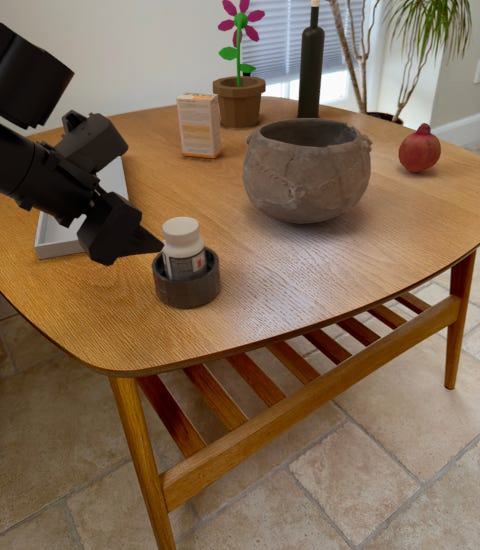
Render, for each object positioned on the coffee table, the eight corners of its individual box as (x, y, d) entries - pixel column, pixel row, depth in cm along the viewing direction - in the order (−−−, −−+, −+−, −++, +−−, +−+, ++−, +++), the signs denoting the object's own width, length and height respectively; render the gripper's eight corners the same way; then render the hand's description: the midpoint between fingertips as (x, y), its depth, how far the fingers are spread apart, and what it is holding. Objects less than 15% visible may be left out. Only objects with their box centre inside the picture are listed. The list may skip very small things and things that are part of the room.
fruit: (390, 175, 89) (400, 127, 83) (398, 161, 95) (408, 115, 89) (432, 182, 86) (445, 132, 80) (438, 167, 92) (450, 120, 86)
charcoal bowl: (161, 315, 56) (156, 288, 54) (152, 276, 63) (147, 250, 61) (227, 301, 58) (226, 274, 56) (212, 264, 65) (210, 239, 63)
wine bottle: (300, 113, 125) (308, -12, 107) (320, 115, 123) (331, -12, 105) (294, 119, 120) (301, -10, 102) (315, 121, 119) (325, -10, 101)
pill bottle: (216, 282, 61) (212, 220, 55) (192, 304, 58) (184, 241, 52) (185, 270, 64) (177, 210, 58) (159, 291, 60) (148, 229, 54)
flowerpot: (269, 115, 124) (271, -10, 106) (260, 131, 113) (260, -5, 95) (221, 112, 127) (215, -10, 109) (207, 128, 116) (198, -5, 98)
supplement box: (222, 152, 102) (219, 93, 94) (214, 159, 98) (210, 99, 91) (190, 148, 104) (184, 91, 96) (181, 156, 101) (175, 97, 93)
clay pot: (220, 209, 79) (216, 127, 70) (303, 178, 89) (308, 102, 80) (301, 260, 66) (308, 166, 57) (387, 217, 76) (405, 131, 66)
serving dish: (38, 259, 68) (33, 246, 66) (52, 165, 98) (49, 155, 97) (136, 243, 71) (134, 230, 69) (121, 157, 101) (119, 147, 100)
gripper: (97, 117, 33) (224, 203, 45) (35, 75, 46) (147, 151, 57) (25, 236, 35) (166, 291, 46) (-16, 164, 47) (103, 221, 59)
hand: (144, 231), depth 52 cm, fingers open, 9 cm apart
